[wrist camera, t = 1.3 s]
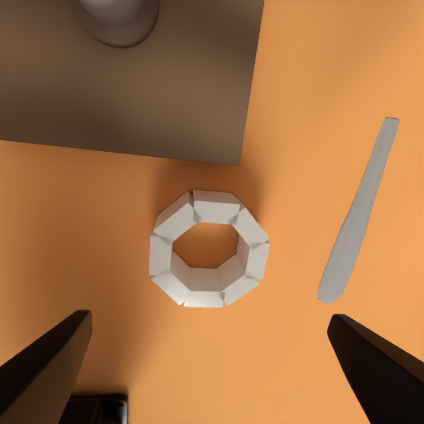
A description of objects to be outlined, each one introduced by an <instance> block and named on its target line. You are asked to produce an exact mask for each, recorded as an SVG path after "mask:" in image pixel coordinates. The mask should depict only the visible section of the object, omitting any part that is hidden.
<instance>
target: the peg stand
mask: <svg viewBox="0 0 424 424" xmlns="http://www.w3.org/2000/svg"><path fill="white" fill-rule="evenodd" d="M263 6H264V0H0V140H6V141H15V142H24V143H33V144H43V145H52V146H61V147H70V148H79V149H88V150H97V151H106V152H115V153H125V154H134V155H143V156H152V157H161V158H170V159H179V160H188V161H198V162H207V163H216V164H225V165H234V166H239V161H240V155H241V148H242V142H243V135H244V129H245V122H246V116H247V109H248V103H249V96H250V90H251V83H252V77H253V70H254V64H255V58H256V51H257V45H258V38H259V32H260V25H261V19H262V12H263Z"/></svg>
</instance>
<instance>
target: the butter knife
mask: <svg viewBox="0 0 424 424" xmlns="http://www.w3.org/2000/svg"><path fill="white" fill-rule="evenodd" d="M399 122H400V120H398V119H393V118H385V120H384V122H383V125H382V127H381V129H380V132H379V134H378V136H377V139H376V142H375V145H374V149H373V151H372V154H371V157H370V159H369V162H368V165H367V167H366V170H365V173H364V175H363V178H362V181H361V184H360V186H359V189H358V191H357V194H356V196H355V198H354V200H353V203H352V205H351V207H350V209H349V212H348V214H347V216H346V218H345V220H344V222H343V225H342V227H341V229H340V231H339V234H338V236H337V239H336V241H335V244H334V246H333V249H332V252H331V254H330V257H329V259H328V262H327V265H326V267H325V270H324V273H323V276H322V279H321V282H320V285H319V289H318V300H319V301H320V302H323V303H332V302H334V301H335V300H336V299H337V298H338V297H339V296H340V295H341V294H342V293H343V291H344V289H345V287H346V284H347V282H348V280H349V277H350V275H351V272H352V270H353V267H354V264H355V261H356V258H357V255H358V253H359V250H360V247H361V244H362V241H363V238H364V235H365V232H366V228H367V224H368V221H369V217H370V213H371V210H372V206H373V202H374V199H375V195H376V192H377V189H378V186H379V183H380V179H381V176H382V173H383V170H384V167H385V164H386V161H387V158H388V154H389V151H390V149H391V146H392V143H393V140H394V137H395V135H396V132H397V128H398V125H399Z"/></svg>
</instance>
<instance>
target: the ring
mask: <svg viewBox="0 0 424 424" xmlns="http://www.w3.org/2000/svg"><path fill="white" fill-rule="evenodd" d="M197 222H206V223H220V224H232V226H233V227H234V228H235V229H236V230H237V232H238V233H239V240H238V246H237V252H236V254H235V255H233V256H232V257H231V258H229V259H228V260H227V261H225V262H224V263H223V264H221V265H220V266H219V267H217V268H216V269H212V268H190V267H189V266H188V265H187V264H186V263H185V262H184V261H183V260H182V259H181V258H180V257H179V256H178V255H177V254H176V253H175V252H174V251H173V250H172V249H173V241H174V240H176V239H177V238H178V237H179V236H181V235H182V234H183V233H185V232H186V231H187V230H188V229H190V228H191V227H192V226H193V225H195V224H196V223H197ZM268 239H269V237H268V236H267V235H266V233H265V232H264V231H263V229H262V228H261V227H260V226H259V224H258V223H257V222H256V220H255V219H254V218H253V217H252V215H251V214H250V213H249V211H248V210H247V209H246V208H245V206H244V205H243V204H242V203H241V201H240V200H239V199H238V198H237V196H236V195H235V196H233V195H232V193H226V192H215V191H204V190H194V189H193V196H192V195H191V194H190V193H189V192H188V191H187V192H186V193H185V194H184V195H182V196H181V197H180V198H179V199H177V200H176V201H175V202H174V203H172V204H171V205H170V206H169V207H168V208H166V209H165V210H164V211H163V212H161V213H160V214H159V215H158V218H157V219H156V221H155V224H154V227H153V230H152V233H151V235H150V257H149V275H152V278H151V280H152V281H153V282H154V283H155V284H156V285H157V286H158V287H160V288H161V289H162V290H163V291H164V292H165V293H166V294H167V295H168V296H170V297H171V298H172V299H173V300H174V301H175V302H176V303H177V304H179V305H180V304H181V303H182V302H184V307H221V308H223V305H224V302H225V303H226V304H227V305H228V306H229V305H230V304H232V303H233V302H235V301H236V300H237V299H239V298H240V297H242V296H243V295H244V294H246V293H247V292H249V291H250V290H251V289H253V288H254V287H256V286H257V285H258V284H260V283H259V281H258V279H263V275H264V271H265V266H266V262H267V257H268V253H269V248H270V244H271V243H270V242H269V241H268Z"/></svg>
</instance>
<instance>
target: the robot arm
mask: <svg viewBox="0 0 424 424" xmlns="http://www.w3.org/2000/svg"><path fill="white" fill-rule="evenodd" d="M91 335H92V313H91V311H90V310H77V311H75V312H74V313H72V314H71V315H70V316H68V317H67V318H66V319H64V320H63V321H62V322H60V323H59V324H57V325H56V326H55V327H53V328H52V329H51V330H49V331H48V332H47V333H45V334H44V335H42V336H41V337H40V338H38V339H37V340H36V341H34V342H33V343H32V344H30V345H29V346H27V347H26V348H25V349H23V350H22V351H21V352H19V353H18V354H17V355H15V356H14V357H12V358H11V359H10V360H8V361H7V362H6V363H4V364H3V365H2V366H0V424H128V397H127V396H126V395H94V396H70V395H71V393H72V390H73V388H74V385H75V382H76V380H77V377H78V374H79V371H80V368H81V365H82V362H83V359H84V356H85V353H86V350H87V347H88V344H89V341H90V338H91ZM327 335H328V338H329V340H330V342H331V345H332V347H333V349H334V351H335V354H336V356H337V358H338V361H339V363H340V365H341V367H342V370H343V372H344V374H345V376H346V378H347V380H348V382H349V384H350V386H351V388H352V390H353V392H354V394H355V396H356V397H357V399H358V401H359V403H360V405H361V407H362V409H363V410H364V412H365V414H366V416H367V418H368V420H369V422H370V423H371V424H424V362H422V361H420V360H419V359H417V358H416V357H414V356H412V355H411V354H409V353H407V352H406V351H404V350H402V349H401V348H399V347H398V346H396V345H394V344H393V343H391V342H389V341H388V340H386V339H384V338H383V337H381V336H379V335H378V334H376V333H375V332H373V331H371V330H370V329H368V328H366V327H365V326H363V325H361V324H360V323H358V322H356V321H355V320H353V319H352V318H350V317H348V316H347V315H345V314H334V315H333V316H332V318H331V321H330V323H329V326H328V329H327Z"/></svg>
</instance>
